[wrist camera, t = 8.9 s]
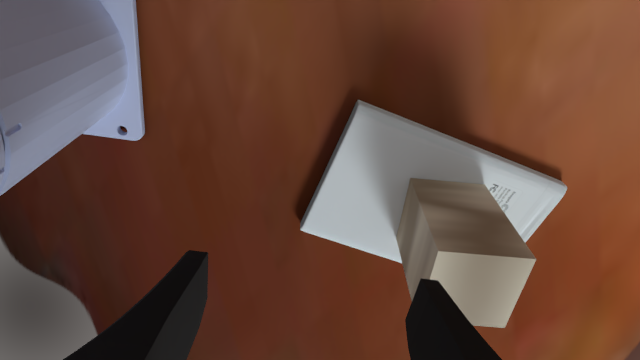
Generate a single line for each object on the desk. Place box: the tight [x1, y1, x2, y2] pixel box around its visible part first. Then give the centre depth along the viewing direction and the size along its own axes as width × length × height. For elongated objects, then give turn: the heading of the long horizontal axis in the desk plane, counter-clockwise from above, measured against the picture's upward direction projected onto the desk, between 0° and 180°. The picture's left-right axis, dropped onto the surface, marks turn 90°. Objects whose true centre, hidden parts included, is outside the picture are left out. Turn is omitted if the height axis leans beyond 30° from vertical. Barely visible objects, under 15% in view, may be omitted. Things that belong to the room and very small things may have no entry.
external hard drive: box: [300, 100, 567, 263], centre depth 23 cm, size 2×8×12 cm
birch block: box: [396, 178, 536, 328], centre depth 20 cm, size 4×4×6 cm
